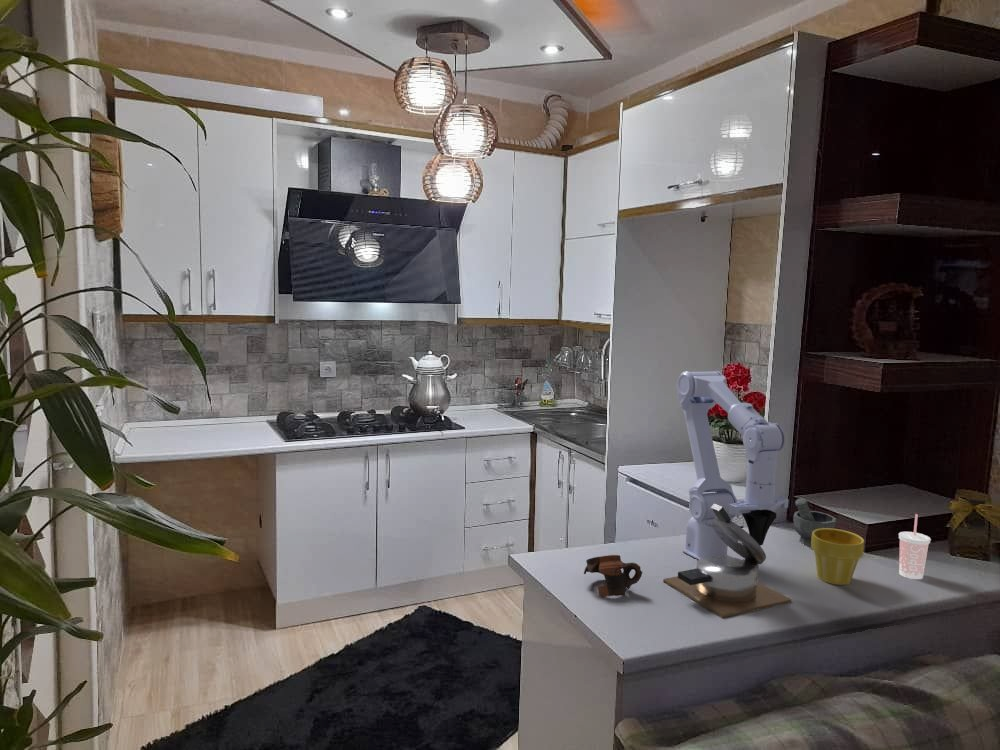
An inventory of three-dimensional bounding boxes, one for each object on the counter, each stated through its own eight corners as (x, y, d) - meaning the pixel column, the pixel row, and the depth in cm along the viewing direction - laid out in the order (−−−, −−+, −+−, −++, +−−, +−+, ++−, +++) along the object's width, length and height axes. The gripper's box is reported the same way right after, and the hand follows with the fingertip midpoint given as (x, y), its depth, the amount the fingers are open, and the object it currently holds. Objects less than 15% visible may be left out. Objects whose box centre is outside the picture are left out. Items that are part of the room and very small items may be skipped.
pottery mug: (585, 599, 142) (578, 558, 145) (592, 602, 151) (586, 563, 154) (644, 591, 140) (636, 549, 143) (648, 594, 148) (641, 554, 151)
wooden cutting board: (655, 583, 150) (656, 558, 149) (728, 569, 158) (729, 546, 157) (713, 619, 133) (715, 592, 133) (791, 602, 142) (793, 576, 141)
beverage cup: (893, 575, 156) (898, 514, 154) (897, 567, 161) (902, 508, 159) (925, 583, 152) (931, 520, 151) (928, 574, 157) (934, 513, 155)
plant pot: (867, 591, 148) (871, 546, 146) (814, 586, 150) (818, 542, 148) (853, 572, 158) (856, 530, 156) (803, 567, 160) (807, 526, 158)
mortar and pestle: (811, 534, 182) (814, 489, 180) (842, 546, 173) (846, 499, 172) (779, 540, 177) (782, 494, 176) (809, 553, 169) (813, 504, 167)
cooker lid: (729, 552, 154) (733, 548, 154) (773, 574, 142) (777, 569, 143) (693, 500, 148) (697, 496, 148) (736, 519, 136) (740, 514, 137)
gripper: (748, 489, 140) (744, 555, 142) (801, 482, 146) (797, 545, 148) (723, 480, 146) (719, 543, 148) (775, 474, 152) (771, 534, 154)
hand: (756, 543), depth 148 cm, fingers closed
